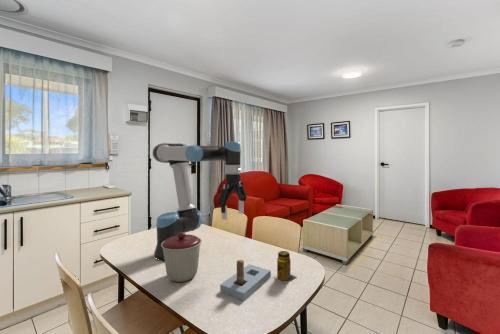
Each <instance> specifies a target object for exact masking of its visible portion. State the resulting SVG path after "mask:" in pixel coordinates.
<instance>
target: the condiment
mask: <svg viewBox="0 0 500 334" xmlns="http://www.w3.org/2000/svg"><path fill="white" fill-rule="evenodd" d="M290 255H291V254H290V252H289V251H287V250H281V251H279V252H278V253H277V258H276V259H277V260H276V265H277V267H276V268H277V269H276V272H277V275H276V276H274V277H273V279H275V280H277V281H279V282H281V283H283V284H285V285H287V284H288V283H290V282H292V280H294V279H296V278H297V276H295V274H291V269H292V268H291V257H290Z"/></svg>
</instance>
